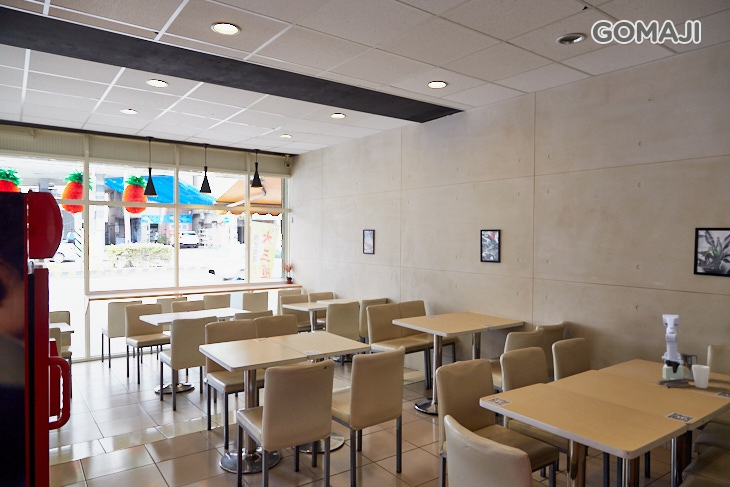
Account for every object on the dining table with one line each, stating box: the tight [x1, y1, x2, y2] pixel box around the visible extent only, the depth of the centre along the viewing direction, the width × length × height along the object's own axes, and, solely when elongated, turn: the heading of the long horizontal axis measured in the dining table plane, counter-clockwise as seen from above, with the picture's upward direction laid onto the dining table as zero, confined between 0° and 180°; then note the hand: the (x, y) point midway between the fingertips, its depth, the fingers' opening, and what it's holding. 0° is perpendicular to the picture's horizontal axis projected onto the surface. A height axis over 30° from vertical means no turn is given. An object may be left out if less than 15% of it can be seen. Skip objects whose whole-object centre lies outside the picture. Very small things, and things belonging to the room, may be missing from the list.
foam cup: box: [692, 364, 710, 389], centre depth 302 cm, size 10×9×13 cm
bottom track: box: [656, 379, 691, 388], centre depth 307 cm, size 9×18×3 cm, turn 103°
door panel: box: [662, 366, 683, 380], centre depth 308 cm, size 2×14×7 cm, turn 104°
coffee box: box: [679, 352, 698, 381], centre depth 323 cm, size 9×6×16 cm
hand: (672, 372), depth 308 cm, fingers closed on door panel, 2 cm apart
